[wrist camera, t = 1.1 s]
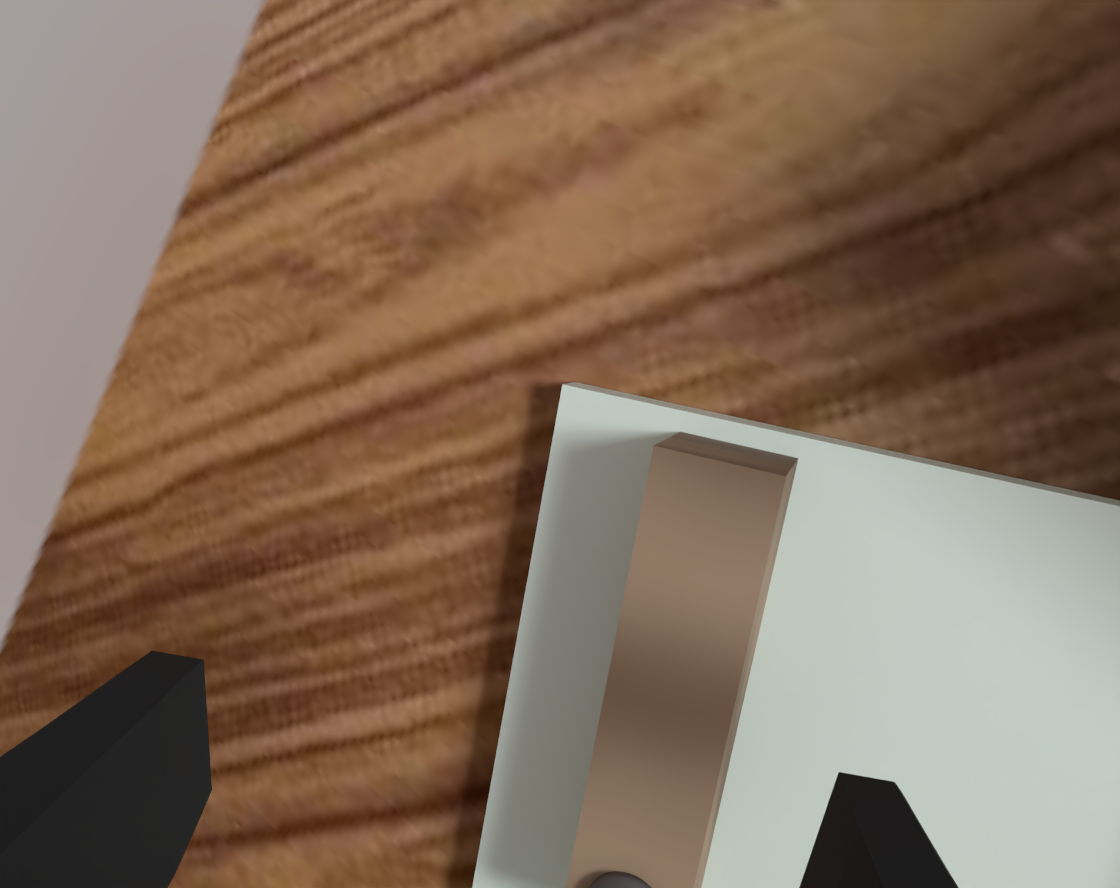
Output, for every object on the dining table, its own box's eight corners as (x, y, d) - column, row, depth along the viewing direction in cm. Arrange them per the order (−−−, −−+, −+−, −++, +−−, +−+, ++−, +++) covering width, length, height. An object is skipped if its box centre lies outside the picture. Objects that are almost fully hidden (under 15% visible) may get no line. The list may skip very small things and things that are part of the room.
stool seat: (1365, 1332, 22) (1466, 1547, 18) (469, 964, 28) (402, 1065, 24) (1650, 615, 19) (1845, 692, 15) (574, 382, 25) (517, 393, 21)
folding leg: (694, 919, 25) (667, 999, 22) (589, 880, 26) (550, 952, 23) (798, 457, 23) (784, 478, 20) (680, 431, 23) (650, 447, 21)
